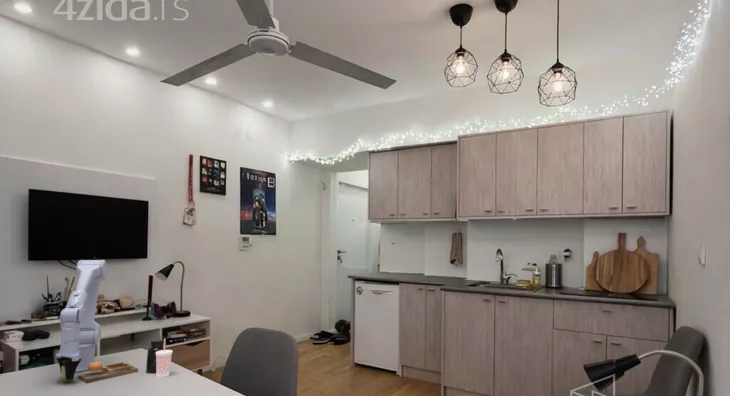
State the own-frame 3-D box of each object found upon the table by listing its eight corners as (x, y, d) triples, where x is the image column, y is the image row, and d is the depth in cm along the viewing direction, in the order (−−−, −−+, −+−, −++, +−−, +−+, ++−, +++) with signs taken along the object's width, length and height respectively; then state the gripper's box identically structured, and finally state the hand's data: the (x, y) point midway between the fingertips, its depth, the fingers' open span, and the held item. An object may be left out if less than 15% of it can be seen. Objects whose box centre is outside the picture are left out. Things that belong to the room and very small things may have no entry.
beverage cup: (160, 372, 169) (162, 336, 170) (174, 373, 168) (176, 337, 169) (150, 377, 163) (152, 340, 164) (165, 378, 162) (167, 340, 163)
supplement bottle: (157, 374, 167) (159, 342, 168) (142, 372, 168) (143, 341, 170) (168, 368, 174) (170, 338, 175) (153, 367, 175) (155, 338, 176)
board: (77, 378, 161) (78, 370, 162) (127, 367, 175) (128, 360, 176) (86, 383, 156) (87, 375, 156) (137, 371, 170) (138, 364, 170)
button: (86, 369, 162) (86, 363, 162) (98, 366, 165) (99, 360, 165) (90, 371, 159) (91, 365, 159) (103, 369, 162) (104, 362, 163)
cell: (58, 382, 157) (60, 363, 158) (71, 379, 160) (72, 361, 161) (62, 384, 154) (64, 365, 155) (75, 381, 158) (76, 363, 158)
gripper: (51, 339, 160) (48, 376, 159) (64, 345, 151) (61, 384, 150) (72, 336, 166) (69, 372, 164) (86, 341, 157) (84, 379, 155)
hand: (67, 377), depth 157 cm, fingers closed on cell, 4 cm apart
